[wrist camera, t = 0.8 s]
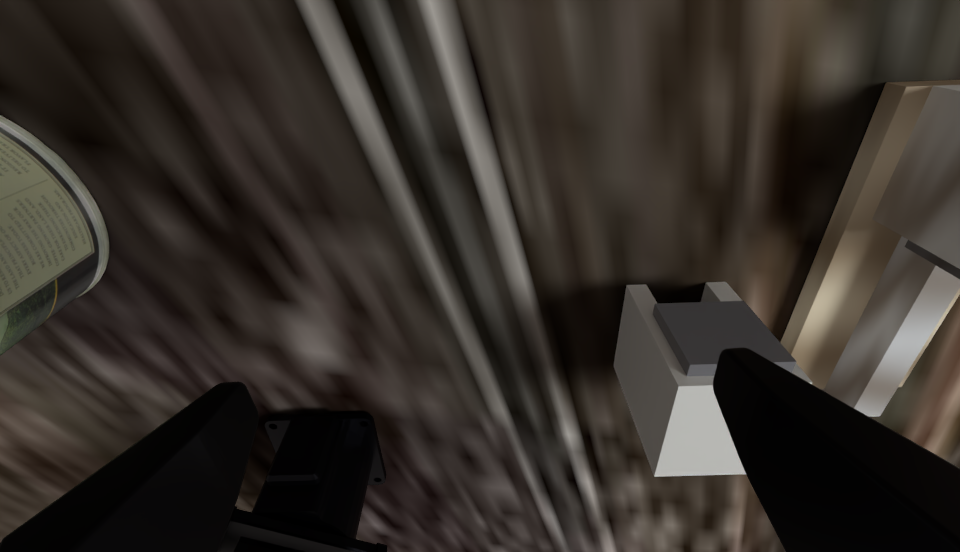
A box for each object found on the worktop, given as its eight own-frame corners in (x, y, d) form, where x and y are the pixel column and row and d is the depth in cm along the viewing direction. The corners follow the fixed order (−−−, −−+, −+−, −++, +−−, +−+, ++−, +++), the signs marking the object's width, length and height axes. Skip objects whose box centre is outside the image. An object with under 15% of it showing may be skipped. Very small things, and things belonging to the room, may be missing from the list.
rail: (887, 374, 26) (1007, 484, 20) (766, 377, 26) (850, 489, 20) (1065, 75, 18) (1357, 115, 12) (886, 82, 18) (1087, 125, 12)
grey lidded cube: (701, 363, 26) (768, 473, 20) (613, 365, 26) (654, 476, 20) (728, 271, 23) (818, 370, 17) (628, 274, 23) (681, 374, 17)
